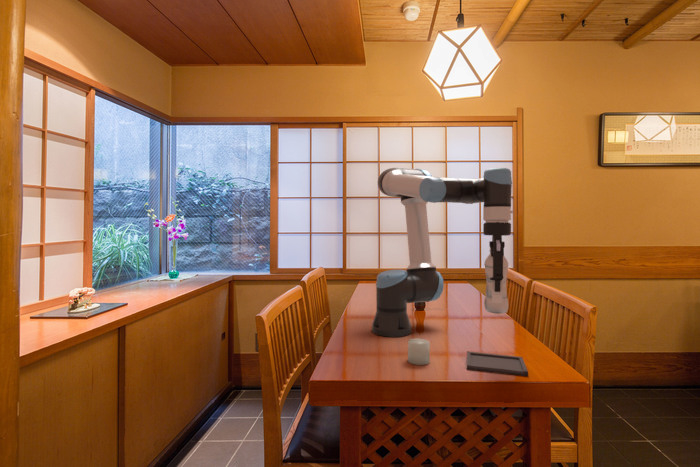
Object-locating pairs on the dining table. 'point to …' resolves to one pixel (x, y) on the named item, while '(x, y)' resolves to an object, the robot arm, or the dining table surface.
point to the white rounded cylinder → (418, 351)
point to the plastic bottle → (489, 306)
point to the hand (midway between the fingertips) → (496, 300)
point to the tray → (496, 363)
